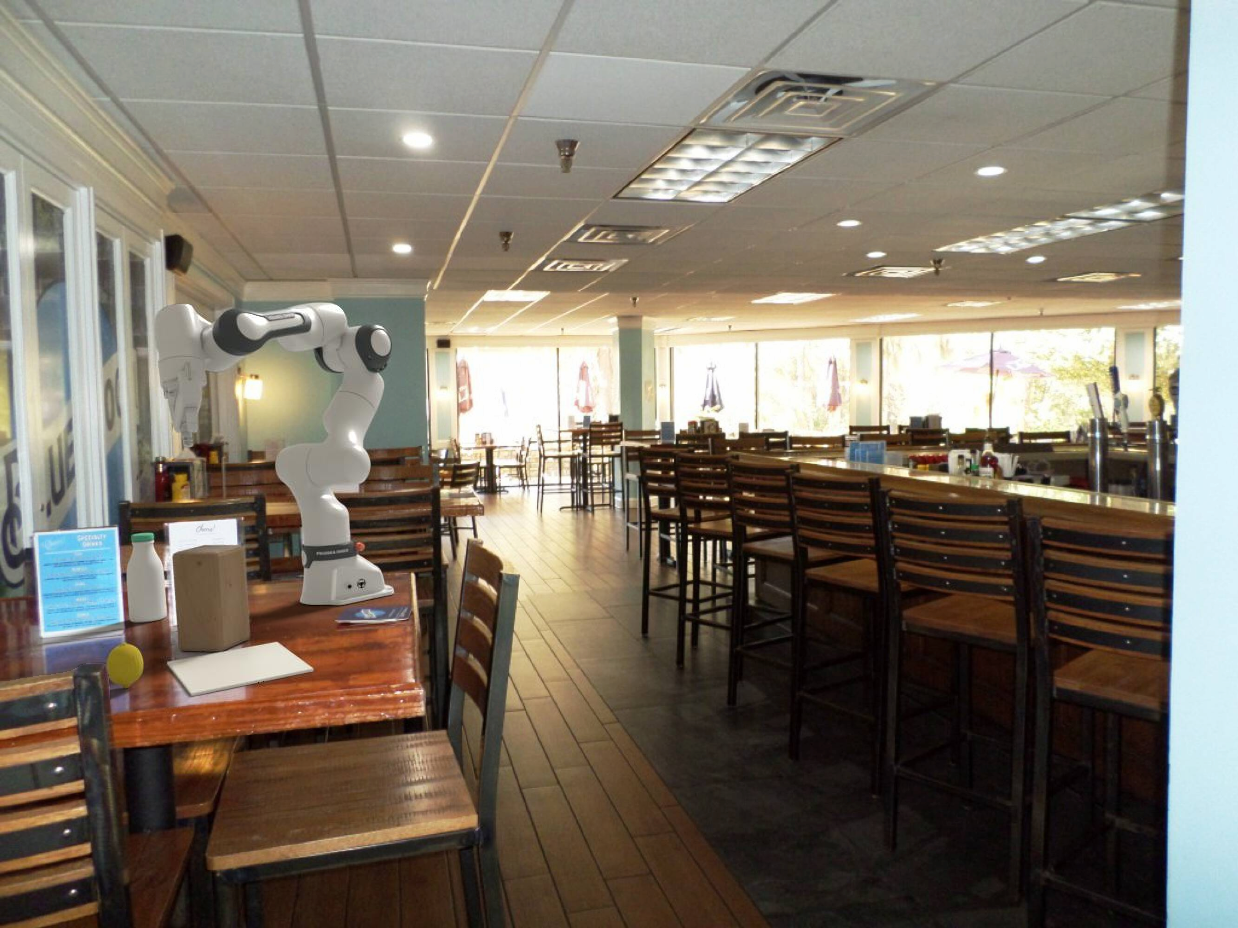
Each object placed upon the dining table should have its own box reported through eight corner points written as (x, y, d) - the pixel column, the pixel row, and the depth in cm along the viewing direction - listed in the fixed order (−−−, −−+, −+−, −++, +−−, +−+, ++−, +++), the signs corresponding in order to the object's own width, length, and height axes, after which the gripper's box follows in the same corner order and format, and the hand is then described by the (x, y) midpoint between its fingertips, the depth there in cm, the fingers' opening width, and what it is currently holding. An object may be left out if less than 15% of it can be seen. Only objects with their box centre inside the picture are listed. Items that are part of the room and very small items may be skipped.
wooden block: (221, 653, 171) (214, 552, 169) (176, 652, 173) (169, 552, 171) (252, 639, 181) (246, 544, 179) (209, 638, 183) (203, 544, 181)
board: (277, 644, 176) (277, 641, 176) (313, 671, 157) (313, 668, 157) (167, 664, 164) (167, 661, 164) (191, 696, 145) (191, 693, 145)
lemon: (151, 682, 153) (148, 637, 153) (132, 692, 148) (129, 646, 147) (121, 683, 154) (117, 638, 153) (101, 693, 148) (97, 647, 148)
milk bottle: (168, 619, 201) (162, 533, 200) (130, 625, 197) (124, 537, 196) (165, 613, 208) (159, 530, 206) (128, 618, 204) (122, 533, 202)
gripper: (204, 357, 177) (213, 421, 174) (194, 393, 194) (202, 452, 191) (170, 358, 174) (178, 423, 171) (163, 394, 191) (170, 454, 188)
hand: (191, 439), depth 181 cm, fingers open, 8 cm apart
